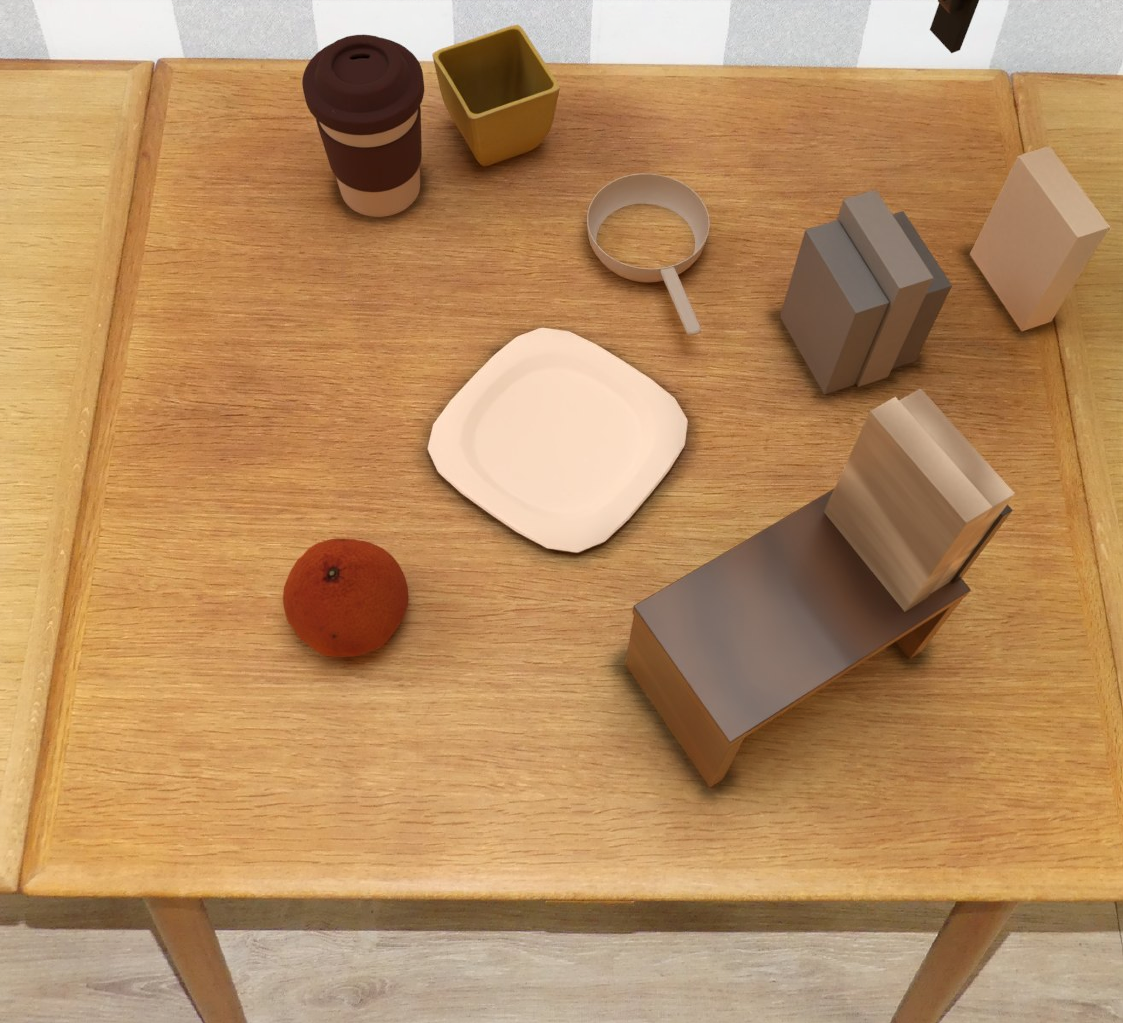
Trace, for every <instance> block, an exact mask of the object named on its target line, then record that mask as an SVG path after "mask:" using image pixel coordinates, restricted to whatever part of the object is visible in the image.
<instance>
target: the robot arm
mask: <svg viewBox="0 0 1123 1023" xmlns="http://www.w3.org/2000/svg"><path fill="white" fill-rule="evenodd" d="M937 2H938V5H937V8H936V10H935V14H934V16H933V19H932V22H931V25H930V28H929V31H930V32H931V33H932V34H933V35H934V36H935V37H936V38H937V39H938V40H939V42H940V43H941V44H942V45H943V46H944V47H945V48H946V49H947V50H948V51H949V52H950V53H951V54H954V53H957V52H959V51H961V49H962V46H963V43H964V41H965V38H966V36H967V33H968V30H969V28H970V25H971V23H972V20H973V17H974V15H975V12H976V10H977V7H978V4H979V2H980V0H937Z"/></svg>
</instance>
